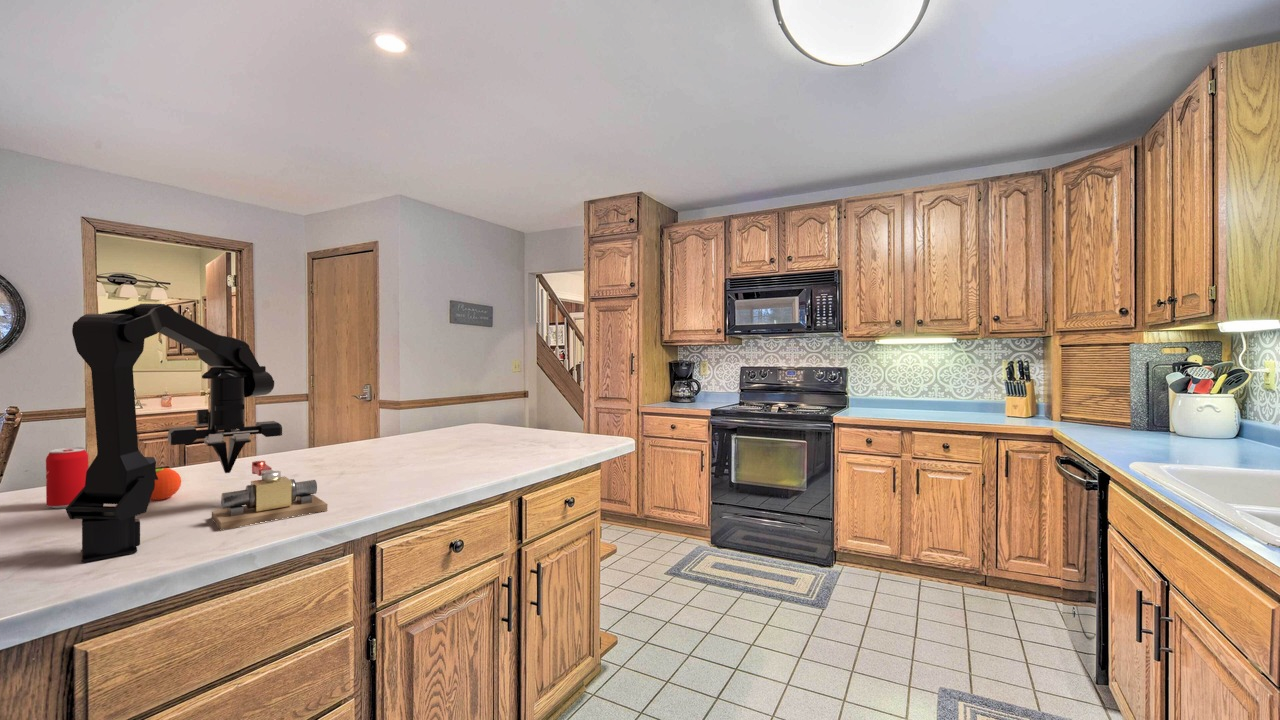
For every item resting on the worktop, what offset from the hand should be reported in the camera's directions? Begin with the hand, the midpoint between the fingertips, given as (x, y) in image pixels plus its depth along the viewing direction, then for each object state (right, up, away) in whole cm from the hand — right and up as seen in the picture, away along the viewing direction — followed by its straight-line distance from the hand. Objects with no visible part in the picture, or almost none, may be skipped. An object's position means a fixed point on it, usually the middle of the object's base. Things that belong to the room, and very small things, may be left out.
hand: (227, 472), depth 115 cm
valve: (+12, -6, -3) cm, 14 cm away
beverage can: (-34, -7, 0) cm, 35 cm away
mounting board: (+12, -8, -3) cm, 14 cm away
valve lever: (+8, -1, 0) cm, 8 cm away
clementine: (-20, -8, +6) cm, 22 cm away
